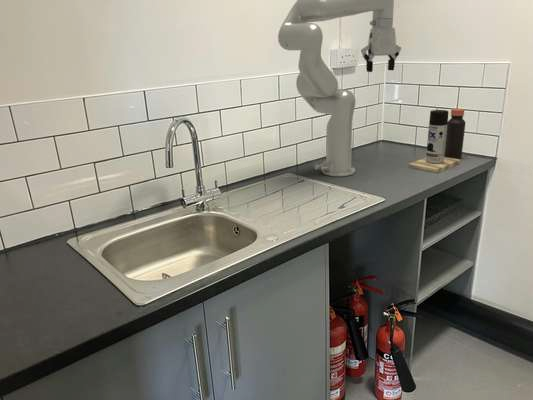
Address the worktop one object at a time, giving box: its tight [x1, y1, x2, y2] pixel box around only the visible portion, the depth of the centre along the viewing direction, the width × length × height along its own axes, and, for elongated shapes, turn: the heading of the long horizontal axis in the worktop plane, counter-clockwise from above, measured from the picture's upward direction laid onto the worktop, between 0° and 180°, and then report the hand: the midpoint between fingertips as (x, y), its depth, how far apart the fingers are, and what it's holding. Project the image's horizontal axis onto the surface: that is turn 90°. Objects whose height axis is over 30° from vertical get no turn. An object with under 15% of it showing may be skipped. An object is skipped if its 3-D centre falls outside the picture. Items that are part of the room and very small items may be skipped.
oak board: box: [408, 157, 461, 174], centre depth 174 cm, size 18×12×2 cm, turn 131°
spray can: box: [425, 109, 449, 164], centre depth 170 cm, size 7×7×20 cm
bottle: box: [444, 108, 466, 160], centre depth 180 cm, size 7×7×20 cm
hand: (380, 70), depth 172 cm, fingers open, 9 cm apart
